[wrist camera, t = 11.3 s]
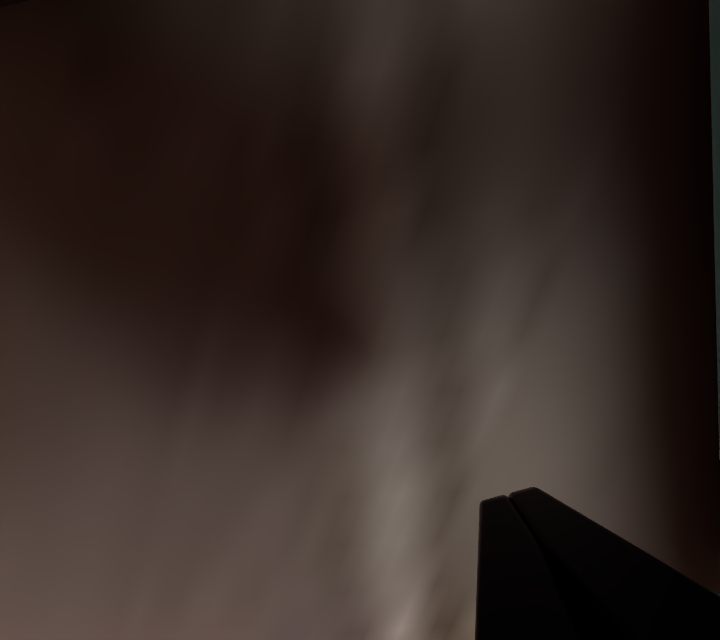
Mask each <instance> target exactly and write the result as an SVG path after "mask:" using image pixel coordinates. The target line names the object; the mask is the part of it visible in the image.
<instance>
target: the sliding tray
mask: <svg viewBox="0 0 720 640" xmlns="http://www.w3.org/2000/svg"><path fill="white" fill-rule="evenodd" d="M709 31H710V74H711V116H712V159H713V202H714V245H715V287H716V330H717V373H718V416H719V458H720V0H709Z"/></svg>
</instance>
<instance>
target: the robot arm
mask: <svg viewBox="0 0 720 640" xmlns="http://www.w3.org/2000/svg"><path fill="white" fill-rule="evenodd" d="M22 1H26V0H0V6H6V5H11V4H15V3H18V2H22ZM475 640H720V596H719V595H717V594H716V593H714V592H712V591H711V590H709V589H707V588H706V587H704V586H702V585H700V584H699V583H697V582H695V581H694V580H692V579H690V578H689V577H687V576H685V575H684V574H682V573H680V572H679V571H677V570H675V569H673V568H672V567H670V566H668V565H667V564H665V563H663V562H662V561H660V560H658V559H657V558H655V557H653V556H652V555H650V554H648V553H647V552H645V551H643V550H641V549H640V548H638V547H636V546H635V545H633V544H631V543H630V542H628V541H626V540H625V539H623V538H621V537H620V536H618V535H616V534H614V533H613V532H611V531H609V530H608V529H606V528H604V527H603V526H601V525H599V524H598V523H596V522H594V521H593V520H591V519H589V518H587V517H586V516H584V515H582V514H581V513H579V512H577V511H576V510H574V509H572V508H571V507H569V506H567V505H566V504H564V503H562V502H561V501H559V500H557V499H555V498H554V497H552V496H550V495H549V494H547V493H545V492H544V491H542V490H540V489H538V488H535V487H530V488H526V489H523V490H519V491H515V492H512V493H510V495H509V497H507V496H505V495H501V496H497V497H493V498H490V499H486V500H483V501H482V502H481V503H480V507H479V537H478V566H477V596H476V625H475Z"/></svg>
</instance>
